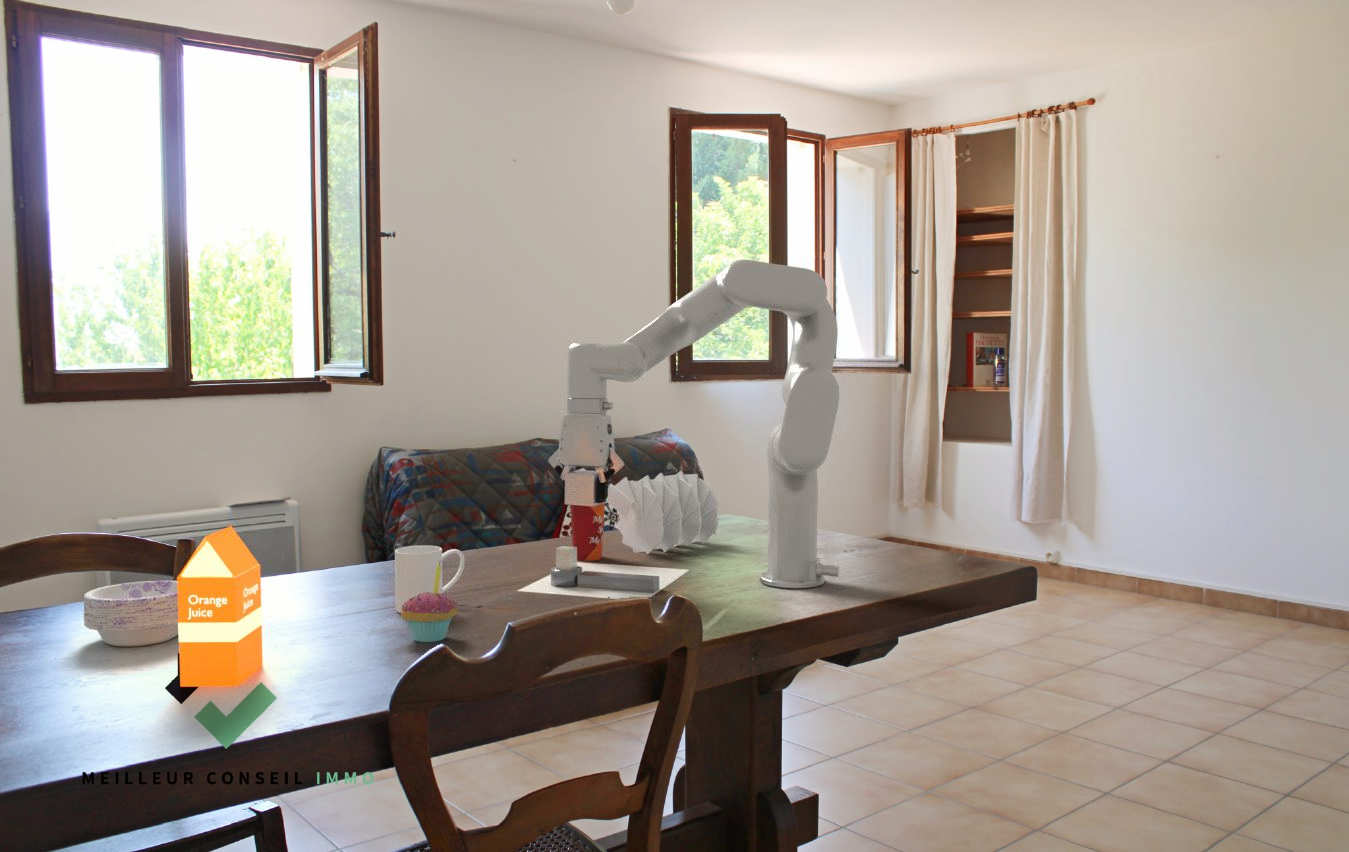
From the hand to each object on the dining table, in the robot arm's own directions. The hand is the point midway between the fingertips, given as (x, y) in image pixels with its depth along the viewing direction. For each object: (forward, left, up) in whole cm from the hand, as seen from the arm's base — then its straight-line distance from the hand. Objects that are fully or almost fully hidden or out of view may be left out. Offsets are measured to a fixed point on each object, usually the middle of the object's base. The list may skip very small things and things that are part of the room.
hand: (585, 500), depth 192 cm
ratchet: (-5, +4, -16) cm, 17 cm away
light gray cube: (0, 0, -1) cm, 1 cm away
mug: (+18, +26, -16) cm, 36 cm away
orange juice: (+25, +68, -16) cm, 74 cm away
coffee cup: (+8, -21, -16) cm, 28 cm away
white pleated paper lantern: (-4, -39, -17) cm, 43 cm away
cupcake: (+8, +43, -16) cm, 47 cm away
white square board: (-4, -2, -16) cm, 17 cm away
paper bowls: (+50, +57, -17) cm, 78 cm away
